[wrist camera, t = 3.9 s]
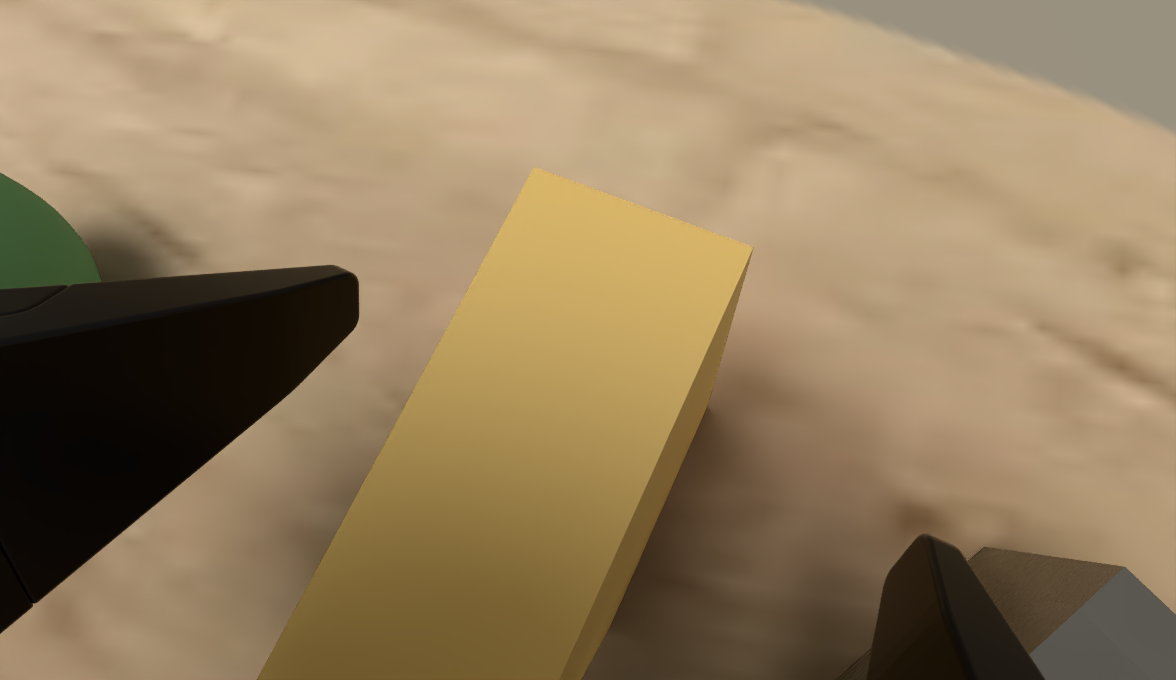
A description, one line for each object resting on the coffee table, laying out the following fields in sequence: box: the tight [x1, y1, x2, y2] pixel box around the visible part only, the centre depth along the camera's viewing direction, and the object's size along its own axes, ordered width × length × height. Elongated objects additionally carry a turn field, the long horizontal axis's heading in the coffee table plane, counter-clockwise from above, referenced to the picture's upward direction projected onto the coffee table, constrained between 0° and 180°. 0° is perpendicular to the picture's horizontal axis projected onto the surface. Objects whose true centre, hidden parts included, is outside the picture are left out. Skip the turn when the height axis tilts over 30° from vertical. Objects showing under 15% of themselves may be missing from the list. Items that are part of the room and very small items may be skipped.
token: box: [257, 167, 754, 680], centre depth 10 cm, size 6×2×10 cm, turn 154°
